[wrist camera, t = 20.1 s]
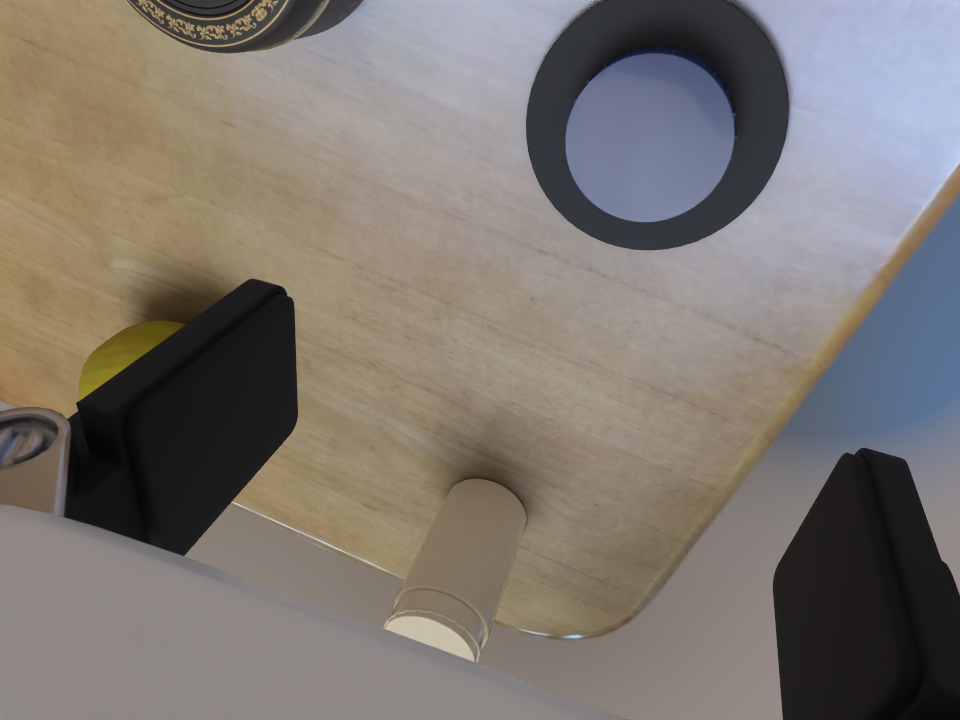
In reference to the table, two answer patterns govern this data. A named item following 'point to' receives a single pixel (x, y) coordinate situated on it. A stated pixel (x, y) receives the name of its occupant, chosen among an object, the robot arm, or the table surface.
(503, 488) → the cream canister
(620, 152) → the jar lid
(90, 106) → the table surface
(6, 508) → the robot arm
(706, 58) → the coaster
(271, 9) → the jar
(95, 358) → the lemon
